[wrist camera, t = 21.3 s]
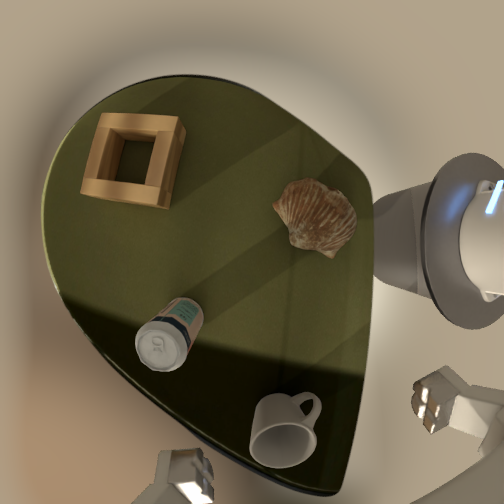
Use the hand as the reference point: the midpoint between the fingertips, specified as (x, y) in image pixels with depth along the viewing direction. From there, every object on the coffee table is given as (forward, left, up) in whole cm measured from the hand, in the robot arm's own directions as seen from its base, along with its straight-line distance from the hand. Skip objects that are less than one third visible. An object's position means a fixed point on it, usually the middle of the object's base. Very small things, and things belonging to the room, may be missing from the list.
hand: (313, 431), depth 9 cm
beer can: (+10, +2, -26) cm, 28 cm away
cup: (-1, +15, -26) cm, 30 cm away
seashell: (-6, -9, -26) cm, 28 cm away
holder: (+14, -18, -26) cm, 34 cm away
